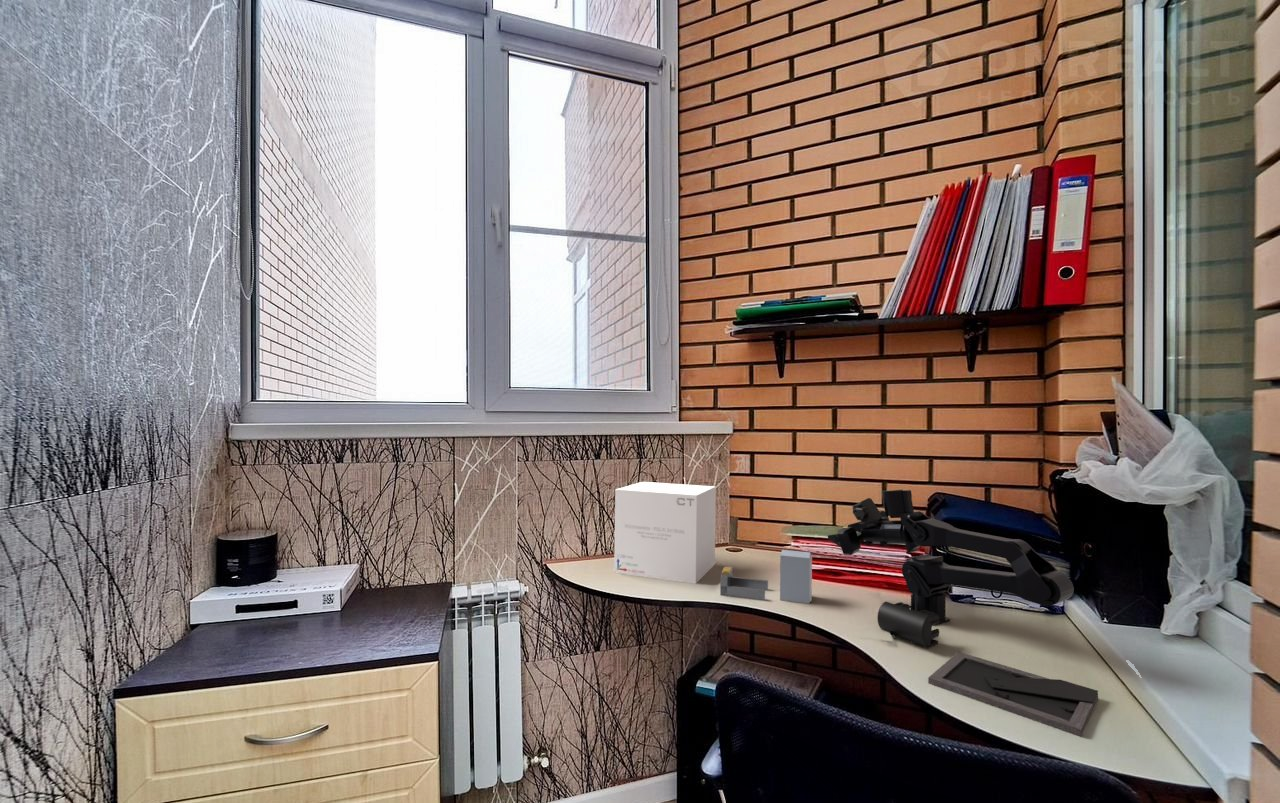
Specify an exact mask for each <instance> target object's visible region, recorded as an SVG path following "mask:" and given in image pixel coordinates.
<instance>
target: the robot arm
mask: <svg viewBox="0 0 1280 803" xmlns="http://www.w3.org/2000/svg"><path fill="white" fill-rule="evenodd" d="M912 496H913V495H912V490H911V489H905V490H903V489H895V490H892V489H891V490H882V491H881V497H882V504H883V507H884V508H883V509H884V510H879V509H878V507H877V505H876V504H875V502H874V501H873V500H872V498H870V497H869V498H865V499H864V500H861V501H860V502H858V503H856V504H854V505H852V513H853V516H854V517H855V519H856V520H857V522H853V523H850V524H848V525H847V527H845V526H844V527H843V528H841V529H839V530H838V531H837V533H833V534H832V533H831V534H829V535H827V539H828V540H829V541H830V542H832V543H833V544H835V545H836V546H838V547H839V548H841V551H842V554H843V555H845V556H852V555H854V554H856V553H858V552H859V551H860V550H861V548H862V546H861V544H862V543H863V542H865V544H866V545H865V546H867V547H872V546H873V545H876V544H880V547H887V546H888V545H905V549H906V552H907V554H910V553H914V552H918V550H919V548H920V547H931V548H932V547H933V548H934V547H935V548H936V547H937V548H938V547H942V548H943V547H948V548H949V547H951V548H956V549H961V550H965V551H969V552H975V553H978V554H979V553H980V554H983V555H987V556H994V557H997V558H1001V559H1005V560H1006V561H1007V562H1008V563H1009V565H1010V566H1011V568H1012V570H1013V572H1009V571H1001V570H992V569H982V568H976V567H967V566H959V565H956V566H955V565H950V564H948V563H945V561H944V556H943V555H939V556H934V555H930V553H929V554H924V555H923V554H922V555H918V556H913V557H912V558H911V559H909V560H906V561H904V562H903V564H902V566H901V574H902V576H903V578H904V580H905V583H906V586H907V589H908V592H909V593H911V594H910V606H911V608H910V609H911V610H915V611H922V610H927V611H930V612H934V613H936V614H938V616H939V623H938V624H937V625H939V624H942V623H946V622H950V620H951V618H950V617H948V616H946V594H944V593H948V592H949V591H950V588H951V586H958V587H965V588H966V587H967V588H972V589H978V590H987V591H993V592H1000V593H1008V594H1012V595H1015V596H1017V597H1018V598H1020V599H1021V600H1024V601H1028V602H1029V603H1034V604H1037V605H1040V606H1044V607H1046V606H1047V607H1051V606H1054V605H1057V604H1059V603H1062V602H1064V601H1067V600H1069V599H1070V598H1072V596H1073V594H1074V593H1075V592H1074V591H1075V587H1074V584H1073V582H1072V580H1071V579H1070V578H1069V577H1068V576H1067V575H1066V574H1065V573H1064V572H1062V571H1059V570H1058V569H1057V568H1056V567H1055V566H1054V564H1053V563H1051V562H1050V561H1048V560H1047V559H1046V558H1045V557H1043V556H1042V555H1041V554H1040V553H1038V552H1036V550H1035V549H1033V547H1032V546H1031V545H1030V544H1029V543H1028V542H1027V541H1025V540H1022V539H1019V538H1017V539H1016V538H1014V539H1013V538H1006V537H1003V536H996V535H991V534H986V533H981V532H975V531H969V530H965V529H960V528H957V527H955V526H953V525H952V524H950V523H947V522H946V521H945V522H944V521H942V520H939V519H935V518H931V517H929V516H928V515H926V514H925V513H923V512H922V511H921V510H920V511H915V510H914V505H913V499H912V498H913V497H912ZM891 519H893V520H891ZM897 519H898V520H897Z"/></svg>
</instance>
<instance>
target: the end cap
mask: <svg viewBox="0 0 1280 803" xmlns="http://www.w3.org/2000/svg"><path fill="white" fill-rule="evenodd" d="M876 618H877V619H876V620H877V625H878V627H879V628H880V629H881V630H884V631H887V632H889V634H890V635H891V636H893V637H895V638H898V639H900V640H901V639H902V640H904V641H907V642H909V643H912V644H914V645H918V646H920V647H923V648H926V649H930V648H932V647H935V646H937V645H938V644H939V641H938V640H937V639H936V638H939V636H940V632H941V631H940V629H939V628H935V629H933V630H932V628H933V626H935V625H939V624H940V623H939V616H938V614H936V613H934V612H930V611H927V610H922V611H915V610H911V604H910V605H909V604H908V603H904V602H903V601H902V602H895V603H893V602H889V601H884V602H883V603H882V604H881V605H880V607H879V609H878V611H877V617H876ZM938 623H939V624H938Z"/></svg>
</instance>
